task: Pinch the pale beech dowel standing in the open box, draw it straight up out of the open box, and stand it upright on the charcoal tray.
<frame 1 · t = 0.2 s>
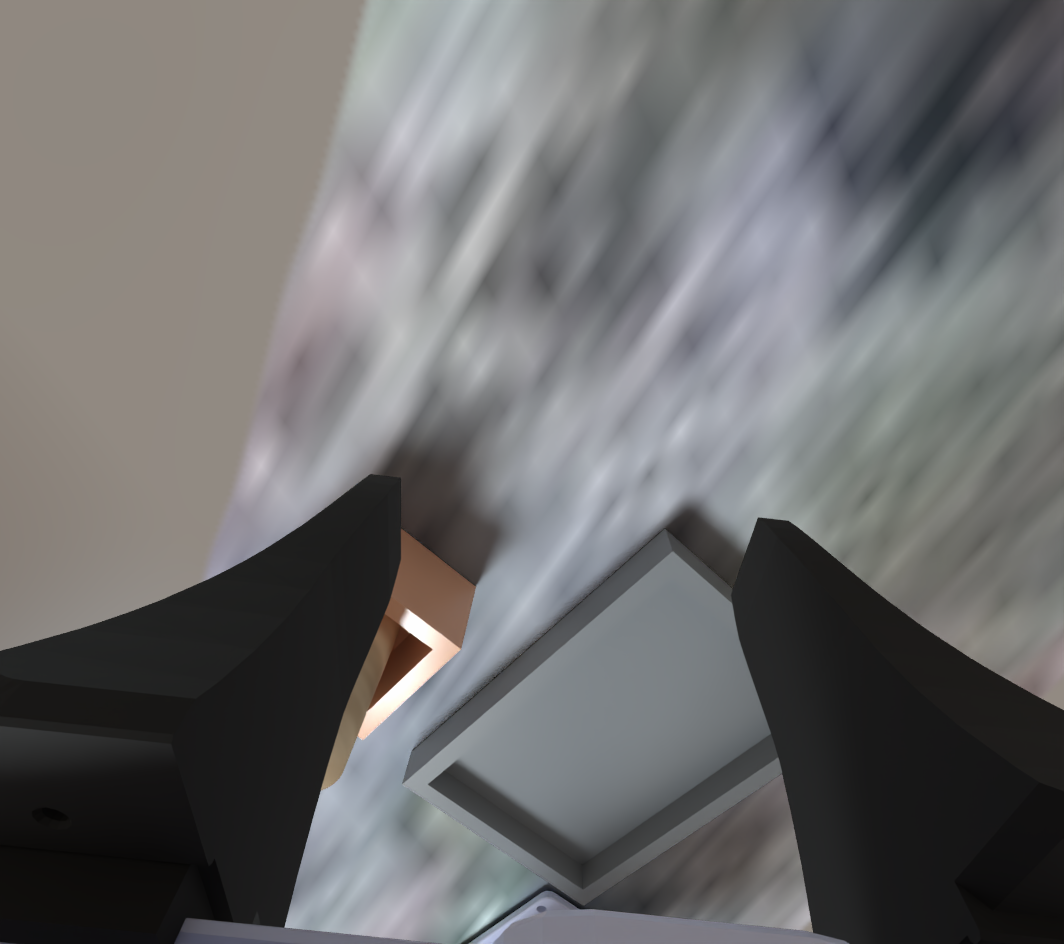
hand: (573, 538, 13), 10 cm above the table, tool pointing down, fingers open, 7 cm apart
dowel: (373, 596, 25), point 1 cm above the table, touching open box
tray: (618, 721, 27), on the table
open box: (377, 588, 25), on the table
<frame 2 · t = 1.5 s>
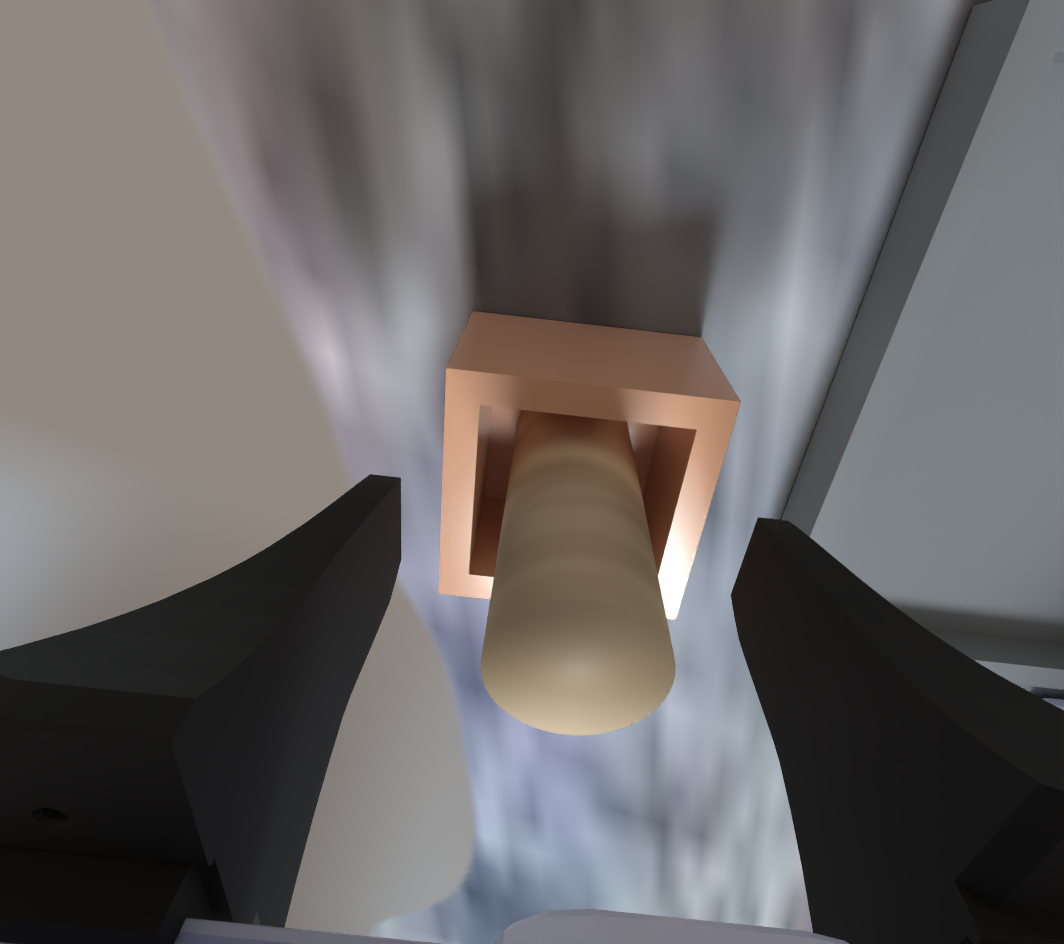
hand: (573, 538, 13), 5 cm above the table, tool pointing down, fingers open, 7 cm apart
dowel: (572, 437, 16), point 1 cm above the table, touching open box
tray: (1038, 410, 16), on the table
open box: (571, 427, 17), on the table
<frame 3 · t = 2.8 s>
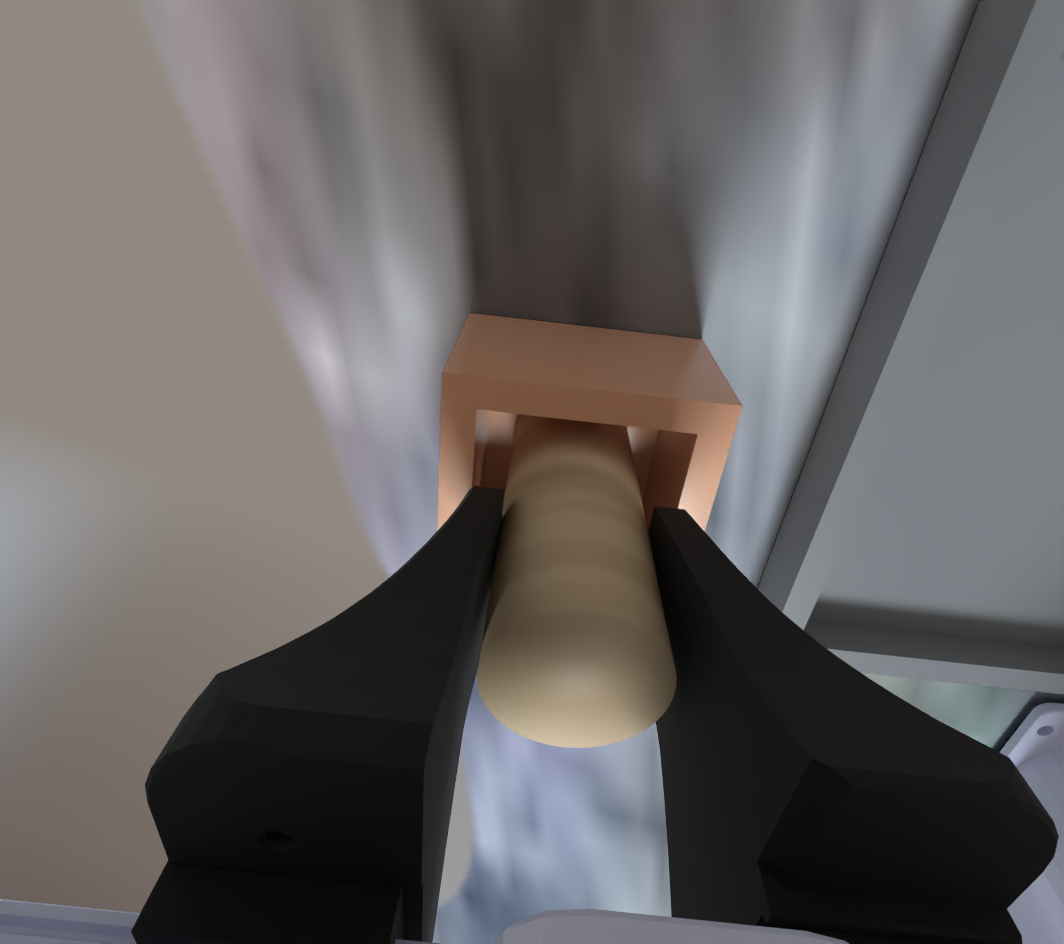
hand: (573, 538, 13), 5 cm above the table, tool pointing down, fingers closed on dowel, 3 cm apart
dowel: (570, 440, 16), point 1 cm above the table, touching open box, gripper
tray: (1043, 413, 16), on the table
open box: (570, 430, 17), on the table
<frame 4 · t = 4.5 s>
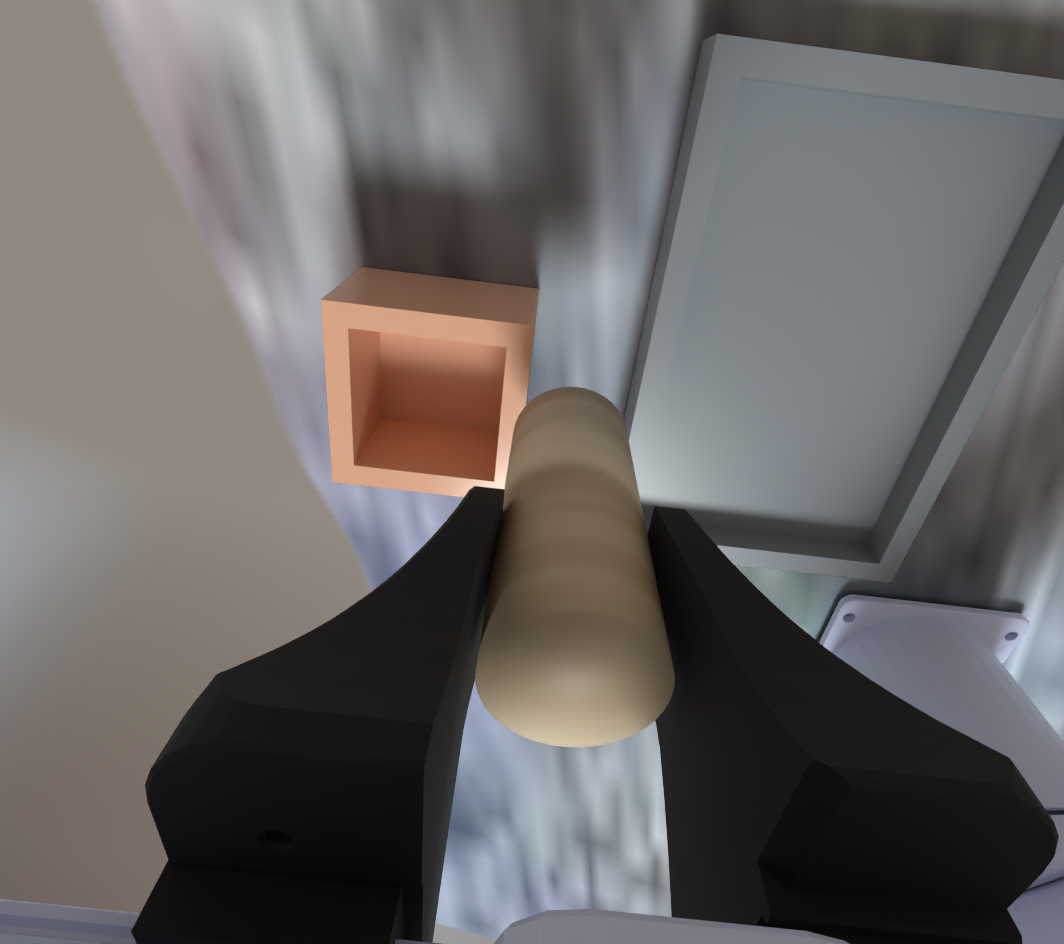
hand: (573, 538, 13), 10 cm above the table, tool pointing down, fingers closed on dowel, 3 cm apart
dowel: (569, 440, 16), point 6 cm above the table, touching gripper
tray: (803, 348, 21), on the table
open box: (447, 361, 22), on the table
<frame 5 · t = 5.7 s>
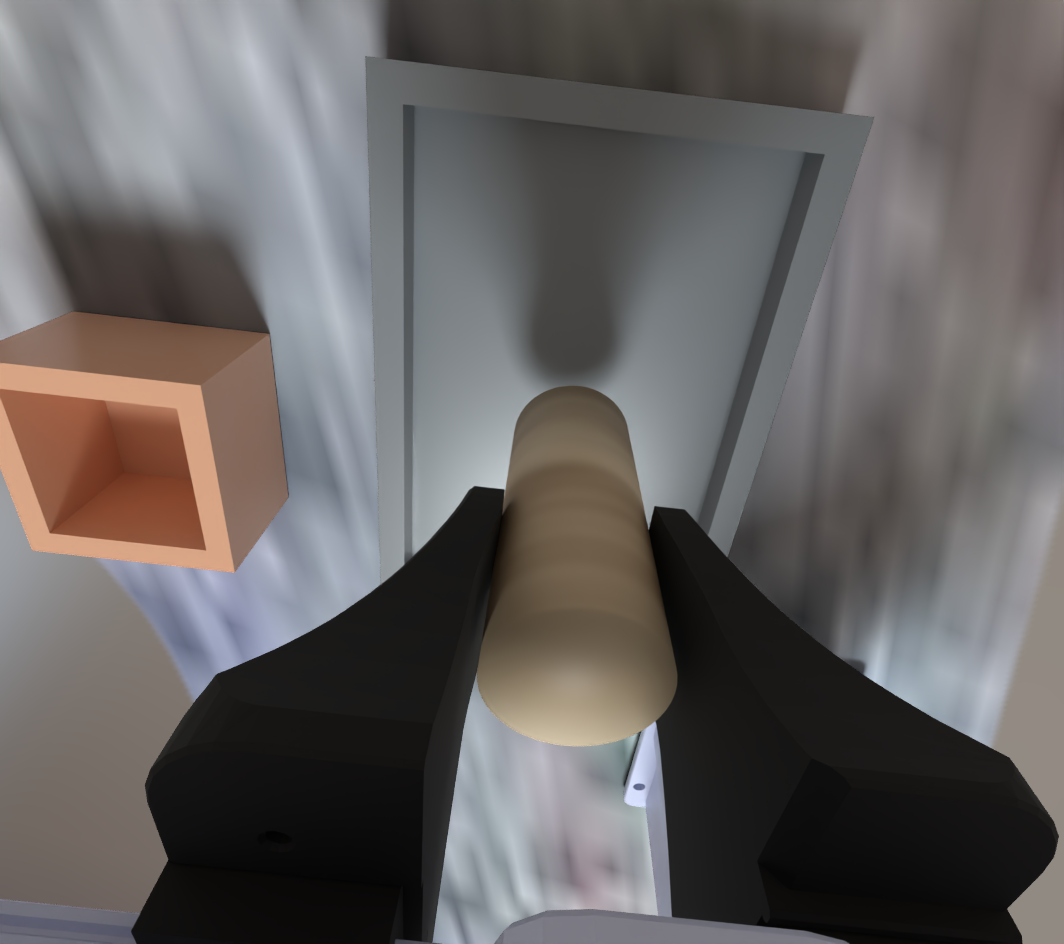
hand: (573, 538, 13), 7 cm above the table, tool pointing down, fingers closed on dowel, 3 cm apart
dowel: (571, 438, 16), point 3 cm above the table, touching gripper
tray: (570, 396, 19), on the table
open box: (188, 411, 20), on the table
when the fingers open (6 cm above the table, at t = 6.7 s): dowel drops 1 cm, resting on tray.
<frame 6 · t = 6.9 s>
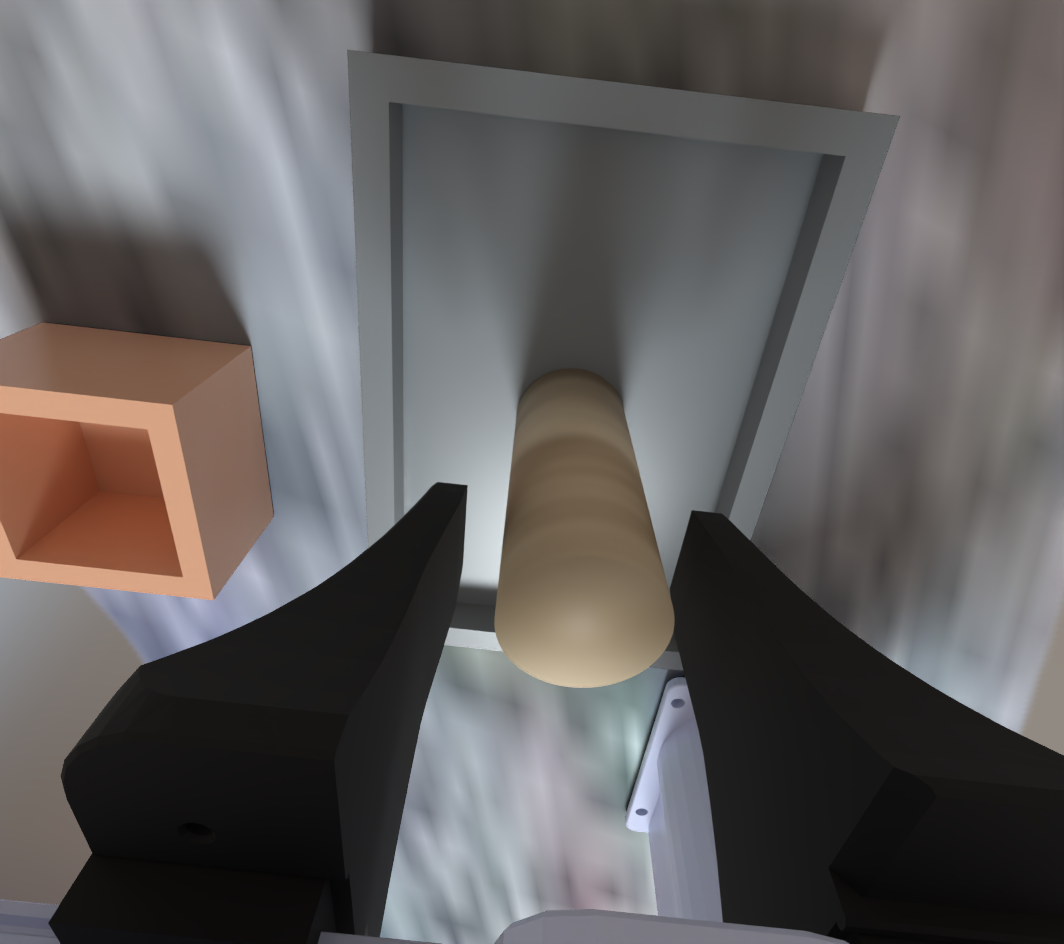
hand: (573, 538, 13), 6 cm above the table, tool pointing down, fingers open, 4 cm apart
dowel: (570, 419, 17), point 1 cm above the table, touching tray
tray: (570, 411, 18), on the table
open box: (167, 427, 19), on the table
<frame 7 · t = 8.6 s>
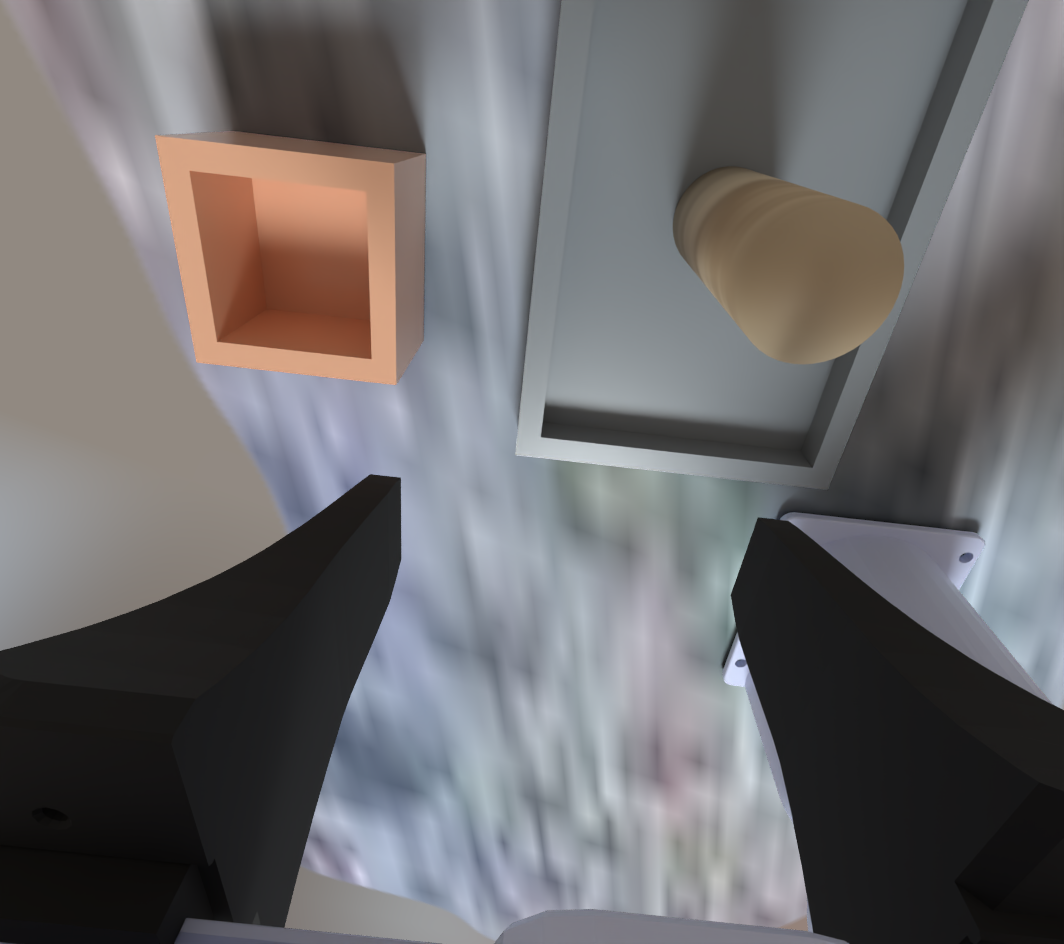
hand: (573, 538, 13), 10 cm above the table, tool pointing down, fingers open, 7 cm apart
dowel: (723, 222, 18), point 1 cm above the table, touching tray
tray: (719, 221, 19), on the table
open box: (334, 243, 20), on the table
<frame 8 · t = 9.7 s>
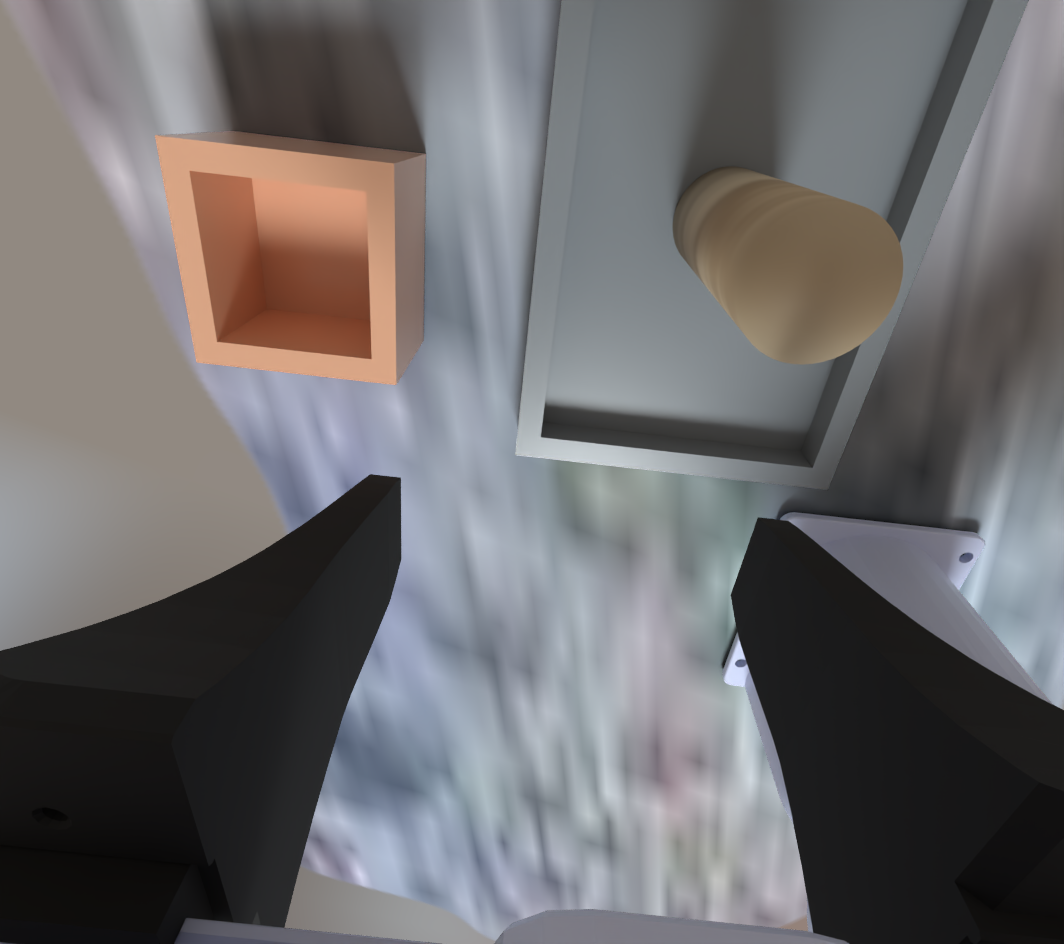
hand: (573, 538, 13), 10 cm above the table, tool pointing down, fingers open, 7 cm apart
dowel: (723, 222, 18), point 1 cm above the table, touching tray
tray: (719, 221, 19), on the table
open box: (334, 243, 20), on the table
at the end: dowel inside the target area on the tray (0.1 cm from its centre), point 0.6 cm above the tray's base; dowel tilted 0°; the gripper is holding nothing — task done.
